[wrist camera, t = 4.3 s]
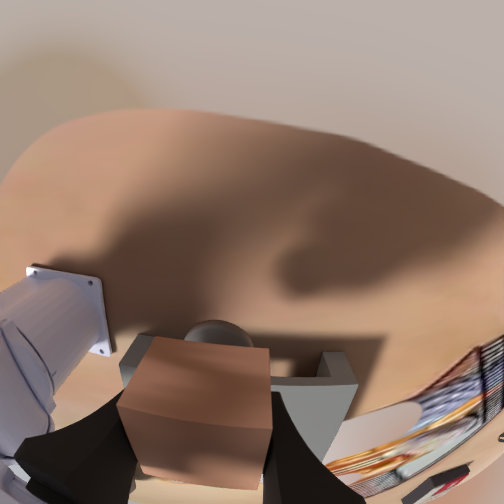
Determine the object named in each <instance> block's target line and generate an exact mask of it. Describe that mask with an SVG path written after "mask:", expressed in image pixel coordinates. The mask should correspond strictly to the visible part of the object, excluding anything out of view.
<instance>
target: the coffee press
mask: <svg viewBox="0 0 504 504" xmlns="http://www.w3.org/2000/svg"><path fill="white" fill-rule="evenodd" d="M500 437H504V434H501V435H500V436H499V438H498V441H499V442H504V440H503V439H500Z"/></svg>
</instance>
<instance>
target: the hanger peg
mask: <svg viewBox="0 0 504 504" xmlns="http://www.w3.org/2000/svg"><path fill="white" fill-rule="evenodd" d="M116 406H117V409H118V412H119V415H120V417H121V420H122V423H123V426H124V428H125V431H126V434H127V436H128V439H129V441H130V444H131V446H132V448H133V451H134V453H135V455H136V458H137V460H138V462H139V464H140V467H141V469H142V471H143V473H145V474H149V475H152V476H157V477H161V478H165V479H170V480H175V481H180V482H185V483H191V484H197V485H204V486H211V487H220V488H230V489H243V490H257V489H258V486H259V482H260V478H261V474H262V470H263V467H264V463H265V459H266V455H267V450H268V446H269V442H270V438H271V434H272V429H273V427H272V404H271V382H270V361H269V349H268V348H254V347H253V344H252V341H251V339H250V337H249V336H248V335H247V333H246V332H245V331H244V330H242V329H241V328H240V327H238V326H236V325H235V324H232V323H230V322H227V321H222V320H208V321H203V322H200V323H198V324H196V325H195V326H193V327H192V328H191V329H190V330H189V331H188V333H187V334H186V336H185V339H184V340H179V339H172V338H166V337H160V336H155V338H154V340H153V341H152V343H151V345H150V346H149V348H148V350H147V352H146V353H145V355H144V357H143V358H142V360H141V362H140V364H139V365H138V367H137V369H136V370H135V372H134V374H133V376H132V377H131V379H130V381H129V383H128V384H127V386H126V388H125V390H124V392H123V393H122V395H121V397H120V399H119V401H118V402H117V404H116Z"/></svg>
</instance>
